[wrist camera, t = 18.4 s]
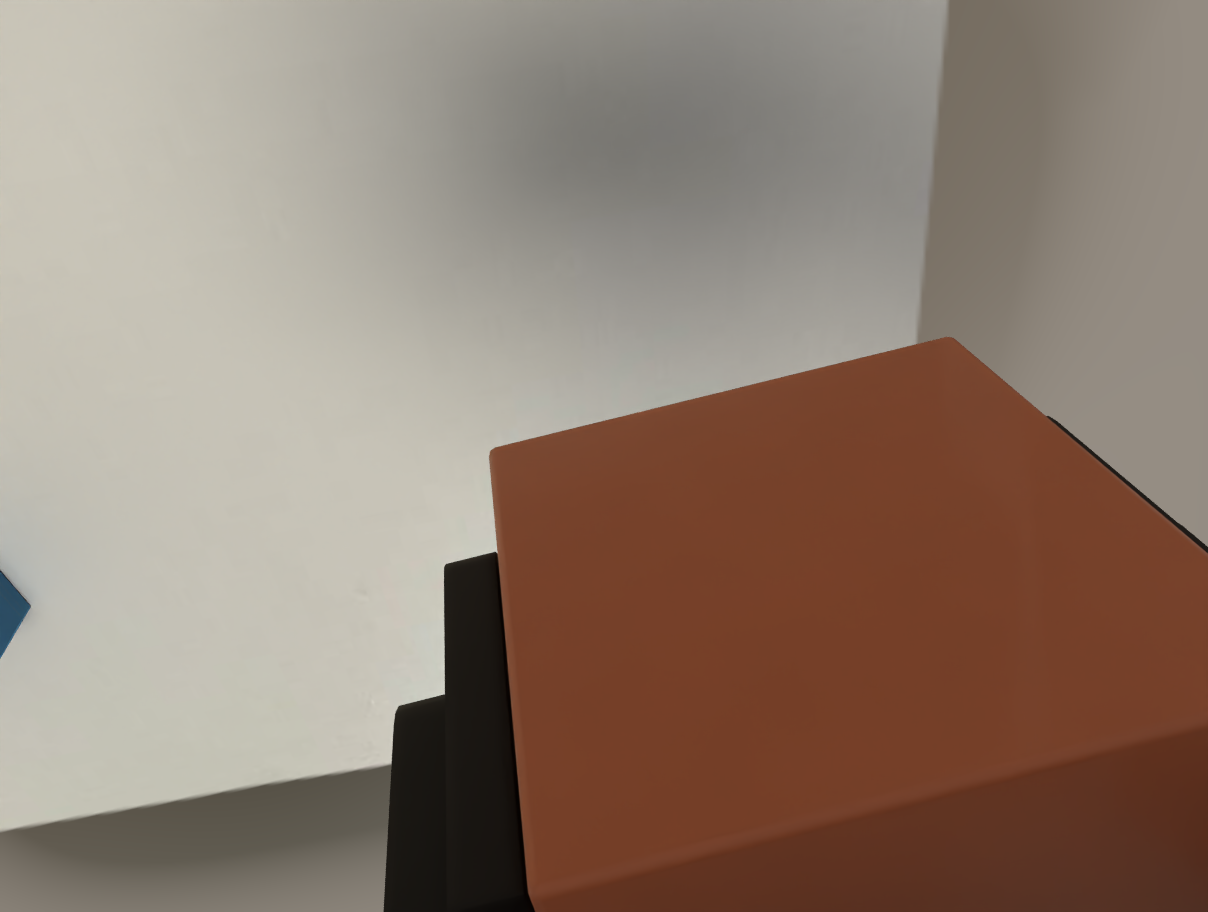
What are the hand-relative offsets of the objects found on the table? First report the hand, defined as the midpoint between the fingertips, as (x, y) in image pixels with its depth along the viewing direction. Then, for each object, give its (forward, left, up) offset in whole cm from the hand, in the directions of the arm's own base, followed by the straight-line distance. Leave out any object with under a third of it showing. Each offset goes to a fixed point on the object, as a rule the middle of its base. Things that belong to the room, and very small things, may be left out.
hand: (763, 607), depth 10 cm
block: (0, 0, -1) cm, 1 cm away
